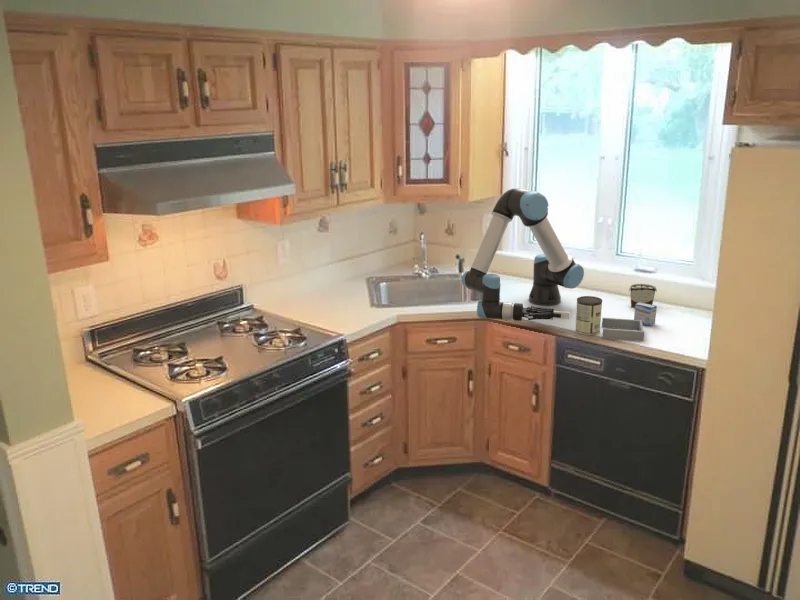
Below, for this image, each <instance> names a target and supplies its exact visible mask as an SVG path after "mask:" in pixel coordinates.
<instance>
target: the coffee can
mask: <svg viewBox="0 0 800 600" xmlns="http://www.w3.org/2000/svg"><path fill="white" fill-rule="evenodd" d="M602 305H603V299H602V298H600V297H597V296H591V295H585V296H582V295H581V296H578V297H577V298H576V312H575V315H576V316H575V332H576V333H578V334H580V335H585V336H595V335H598V334H600V332H601V323H602V322H601V321H602V307H603V306H602Z"/></svg>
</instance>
